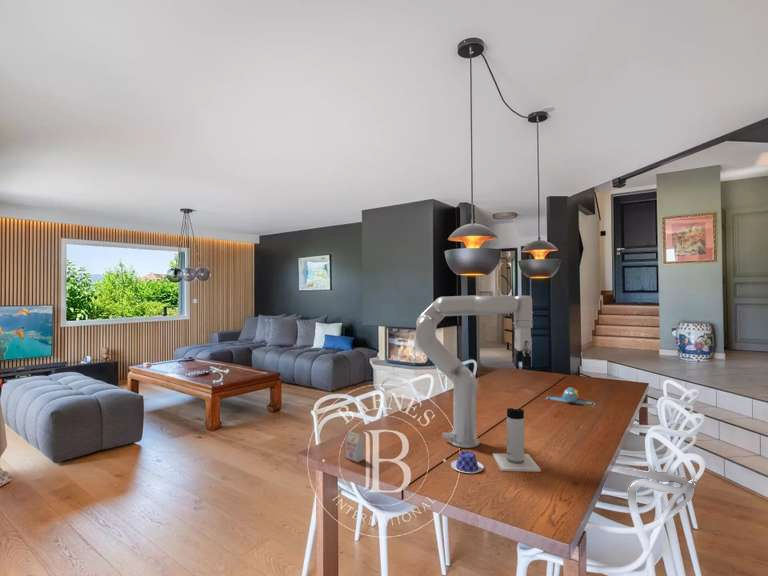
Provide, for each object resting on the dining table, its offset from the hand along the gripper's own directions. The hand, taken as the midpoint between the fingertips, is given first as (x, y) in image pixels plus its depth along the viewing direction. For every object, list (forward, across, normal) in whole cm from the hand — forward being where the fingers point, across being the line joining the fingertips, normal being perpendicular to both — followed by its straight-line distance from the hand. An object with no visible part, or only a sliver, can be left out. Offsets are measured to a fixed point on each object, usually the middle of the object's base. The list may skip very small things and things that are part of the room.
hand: (523, 363), depth 173 cm
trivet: (+34, +21, -9) cm, 41 cm away
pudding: (+34, +25, -28) cm, 51 cm away
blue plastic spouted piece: (+36, -70, +46) cm, 91 cm away
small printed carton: (+34, +21, -71) cm, 81 cm away
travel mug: (+34, +21, -9) cm, 40 cm away
